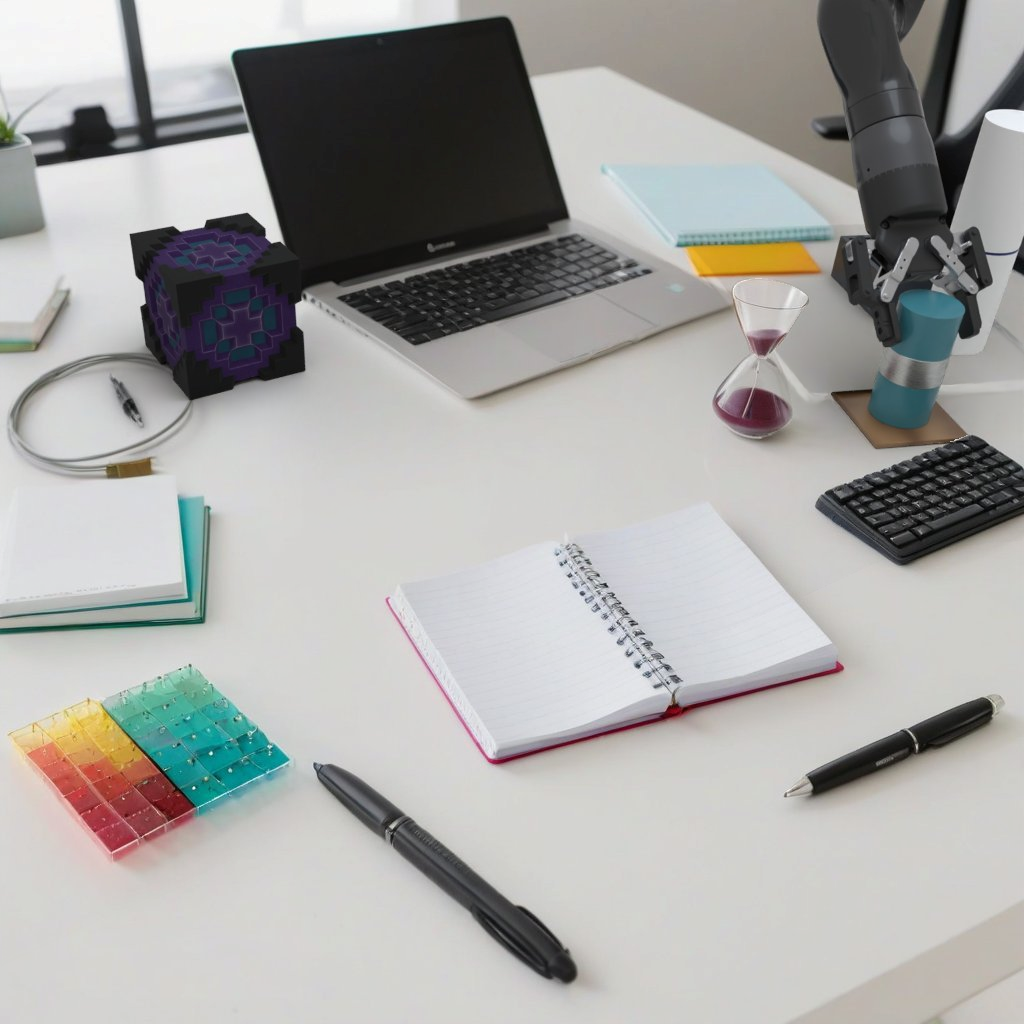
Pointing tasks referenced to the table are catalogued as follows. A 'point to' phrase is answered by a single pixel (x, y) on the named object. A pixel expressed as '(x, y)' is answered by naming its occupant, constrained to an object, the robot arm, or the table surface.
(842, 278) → the tub
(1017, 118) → the cylindrical container
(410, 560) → the table surface
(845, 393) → the coaster
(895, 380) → the can
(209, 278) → the energy cube
